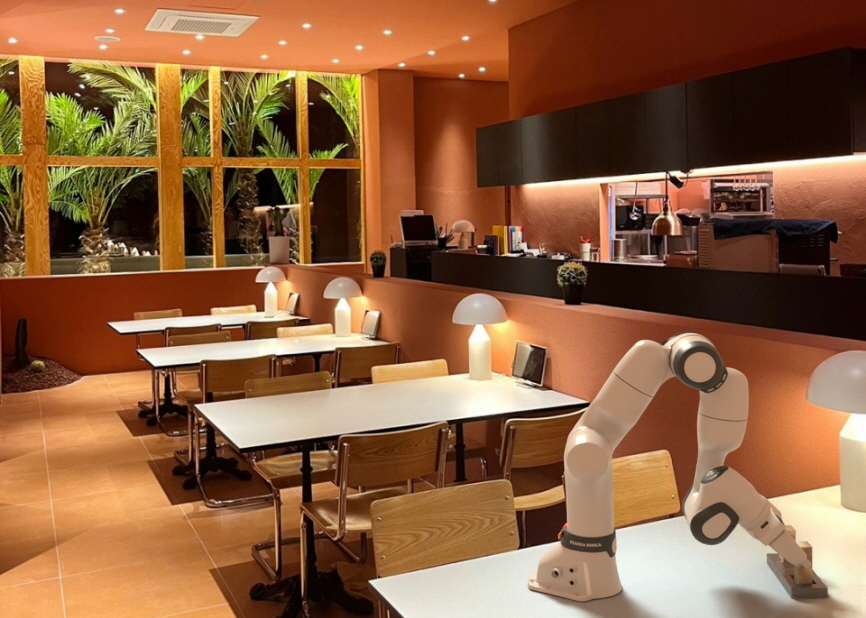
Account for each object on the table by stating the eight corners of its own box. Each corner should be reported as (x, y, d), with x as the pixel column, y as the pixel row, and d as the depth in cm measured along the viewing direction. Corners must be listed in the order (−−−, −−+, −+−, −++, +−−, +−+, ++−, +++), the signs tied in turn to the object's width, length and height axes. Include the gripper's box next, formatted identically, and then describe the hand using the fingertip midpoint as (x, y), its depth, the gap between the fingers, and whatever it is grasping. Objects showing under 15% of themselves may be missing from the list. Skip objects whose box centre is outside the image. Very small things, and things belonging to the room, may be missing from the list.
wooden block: (798, 588, 206) (798, 547, 205) (793, 582, 210) (793, 540, 209) (812, 589, 205) (812, 547, 205) (807, 582, 209) (807, 541, 209)
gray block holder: (791, 598, 203) (791, 553, 202) (766, 562, 225) (766, 522, 224) (827, 598, 202) (827, 553, 201) (799, 563, 224) (799, 522, 223)
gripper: (742, 515, 218) (783, 554, 218) (762, 544, 198) (808, 587, 198) (761, 497, 217) (802, 536, 217) (783, 524, 197) (829, 568, 197)
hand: (805, 561), depth 207 cm, fingers closed on wooden block, 4 cm apart
